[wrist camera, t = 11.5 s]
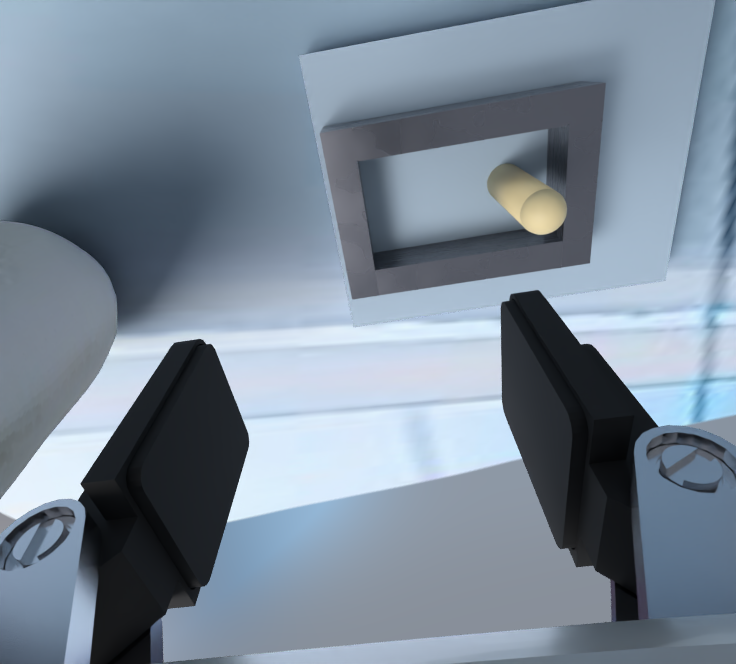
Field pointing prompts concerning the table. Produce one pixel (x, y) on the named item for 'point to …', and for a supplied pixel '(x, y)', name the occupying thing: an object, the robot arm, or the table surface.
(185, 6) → the table surface
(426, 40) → the board
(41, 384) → the tall cream vase
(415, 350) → the table surface
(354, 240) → the steel link
